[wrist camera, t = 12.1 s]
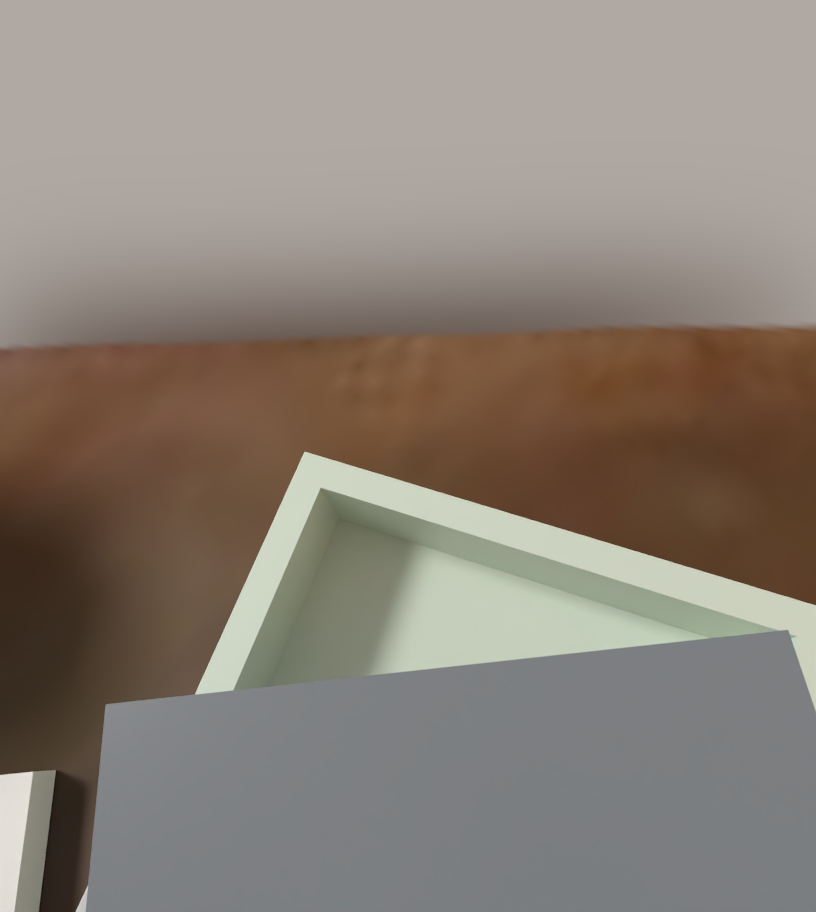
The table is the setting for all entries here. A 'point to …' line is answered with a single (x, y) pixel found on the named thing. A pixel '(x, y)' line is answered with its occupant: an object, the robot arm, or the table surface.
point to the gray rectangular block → (472, 789)
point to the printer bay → (24, 837)
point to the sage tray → (458, 589)
